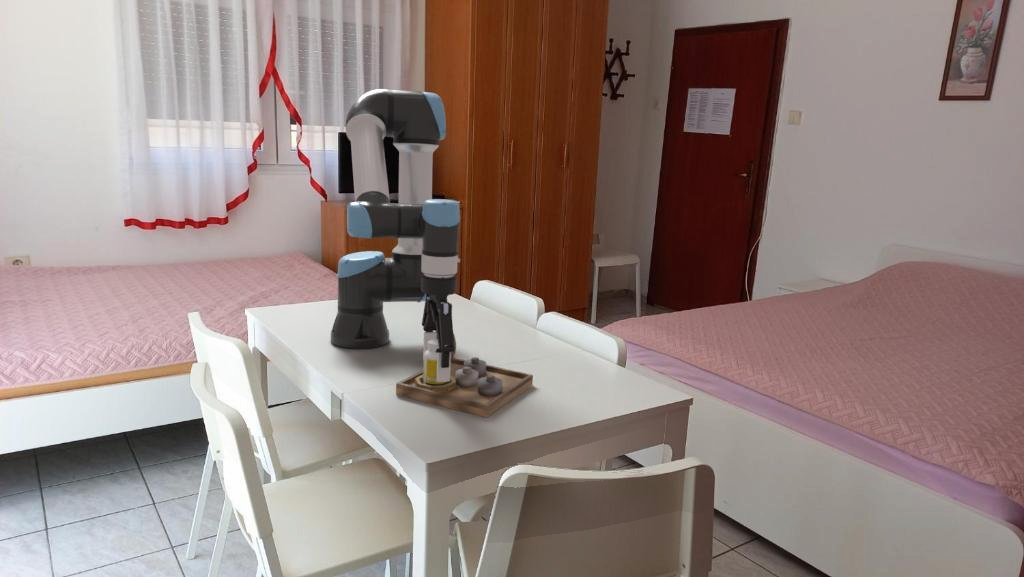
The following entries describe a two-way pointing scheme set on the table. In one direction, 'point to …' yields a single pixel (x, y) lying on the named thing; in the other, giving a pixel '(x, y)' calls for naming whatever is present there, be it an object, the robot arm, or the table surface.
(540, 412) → the table surface
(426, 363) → the supplement bottle
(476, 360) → the carrier
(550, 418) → the table surface
